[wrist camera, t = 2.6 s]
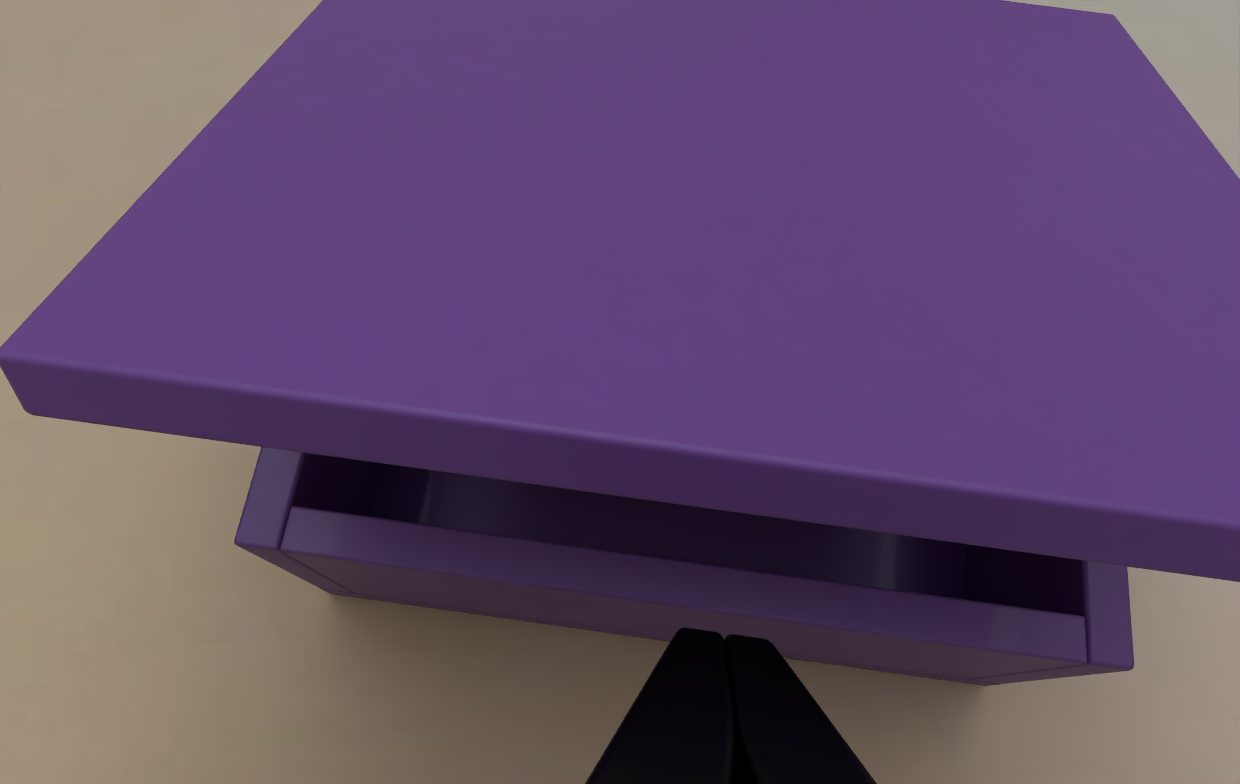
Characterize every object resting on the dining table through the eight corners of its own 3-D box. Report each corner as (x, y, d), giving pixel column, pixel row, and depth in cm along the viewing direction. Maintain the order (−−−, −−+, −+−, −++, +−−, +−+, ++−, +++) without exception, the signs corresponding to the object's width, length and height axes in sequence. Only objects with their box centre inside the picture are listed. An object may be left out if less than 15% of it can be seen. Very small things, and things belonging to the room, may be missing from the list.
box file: (986, 686, 18) (1137, 671, 13) (328, 593, 18) (231, 544, 13) (979, 202, 22) (1092, 52, 17) (442, 131, 22) (400, -37, 17)
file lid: (1471, 616, 8) (1543, 566, 7) (24, 417, 8) (-13, 352, 8) (1095, 56, 17) (1115, 13, 16) (397, -35, 17) (393, -80, 16)
